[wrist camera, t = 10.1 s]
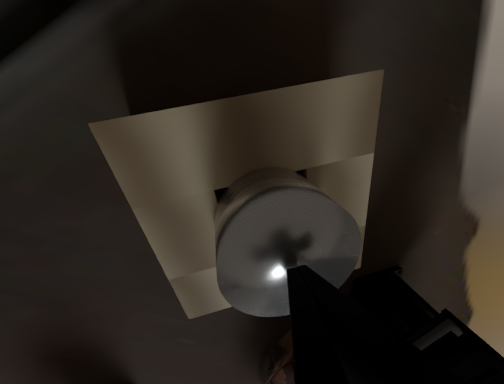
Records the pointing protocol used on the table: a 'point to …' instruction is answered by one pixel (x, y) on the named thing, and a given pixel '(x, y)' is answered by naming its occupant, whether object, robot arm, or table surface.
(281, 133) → the hitch block
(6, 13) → the table surface
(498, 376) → the robot arm
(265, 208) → the pin
